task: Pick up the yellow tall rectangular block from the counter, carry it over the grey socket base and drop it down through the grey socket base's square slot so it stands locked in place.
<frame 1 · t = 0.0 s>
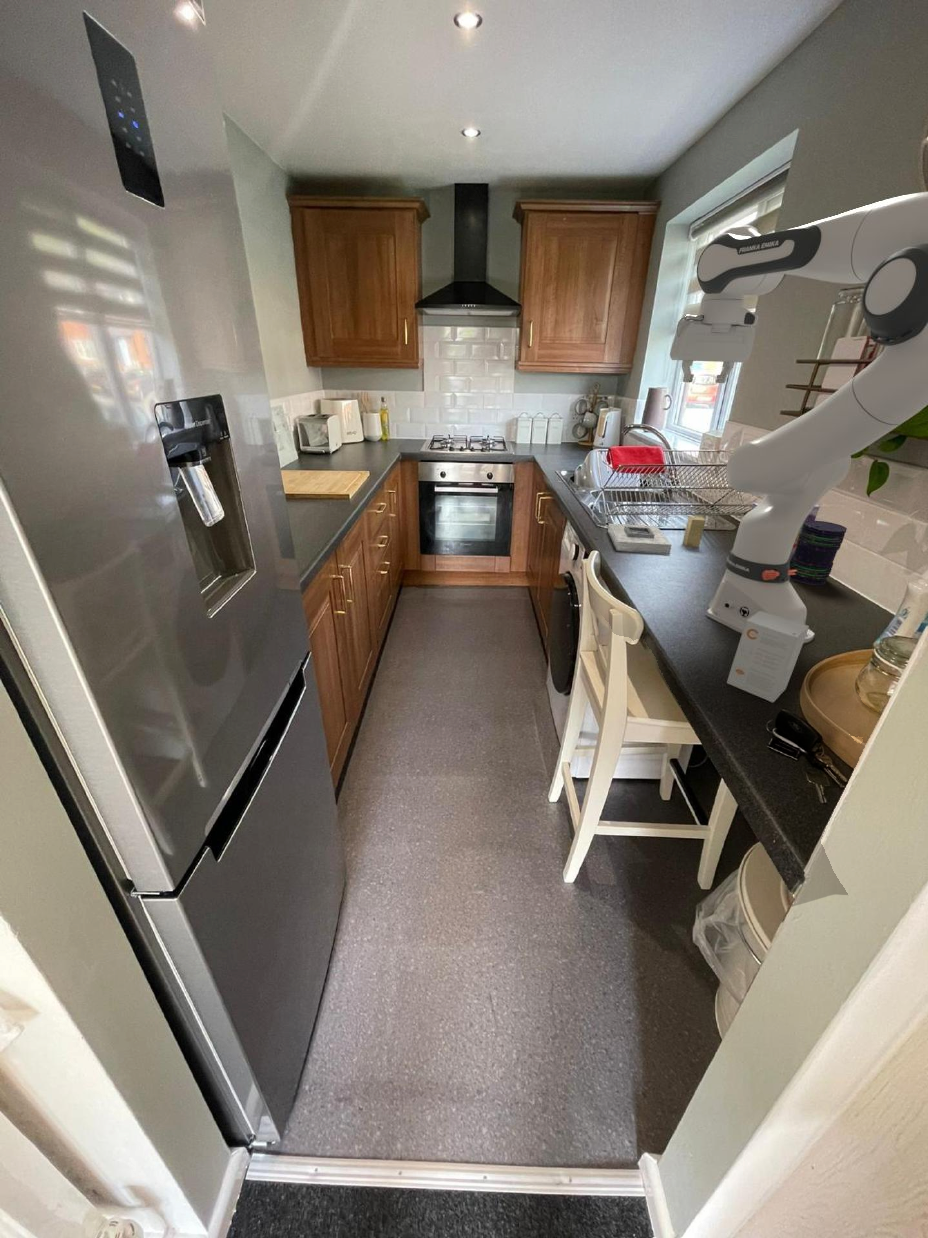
hand: (703, 382, 120), 48 cm above the countertop, fingers open, 8 cm apart
yellow tall rectangular block: (690, 545, 160), on the countertop
small box: (755, 687, 89), on the countertop
grey socket base: (636, 542, 162), on the countertop
cake pan box: (766, 562, 148), on the countertop
storage jar: (805, 578, 137), on the countertop
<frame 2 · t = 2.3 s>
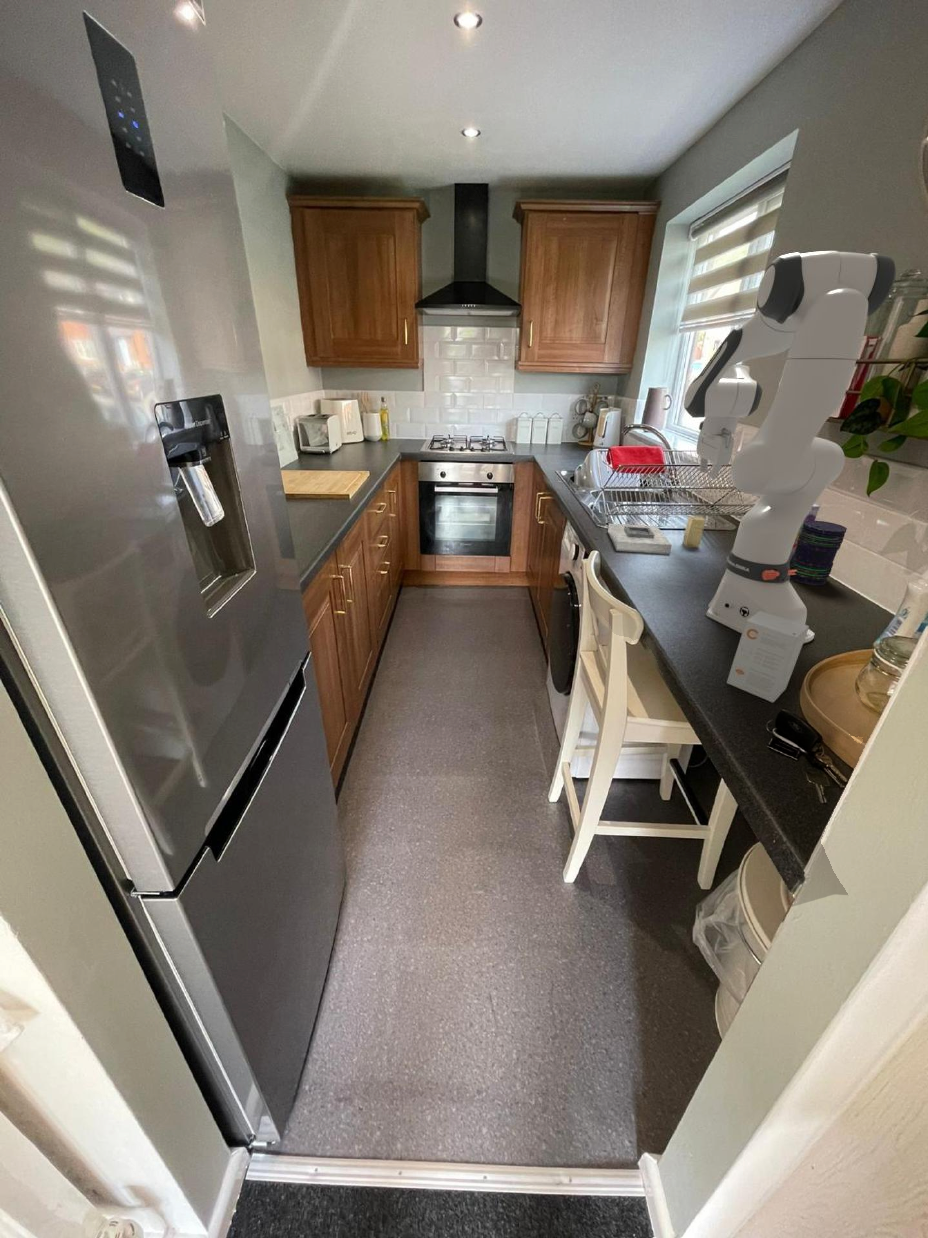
hand: (707, 475, 150), 22 cm above the countertop, fingers open, 8 cm apart
nothing on the countertop moved.
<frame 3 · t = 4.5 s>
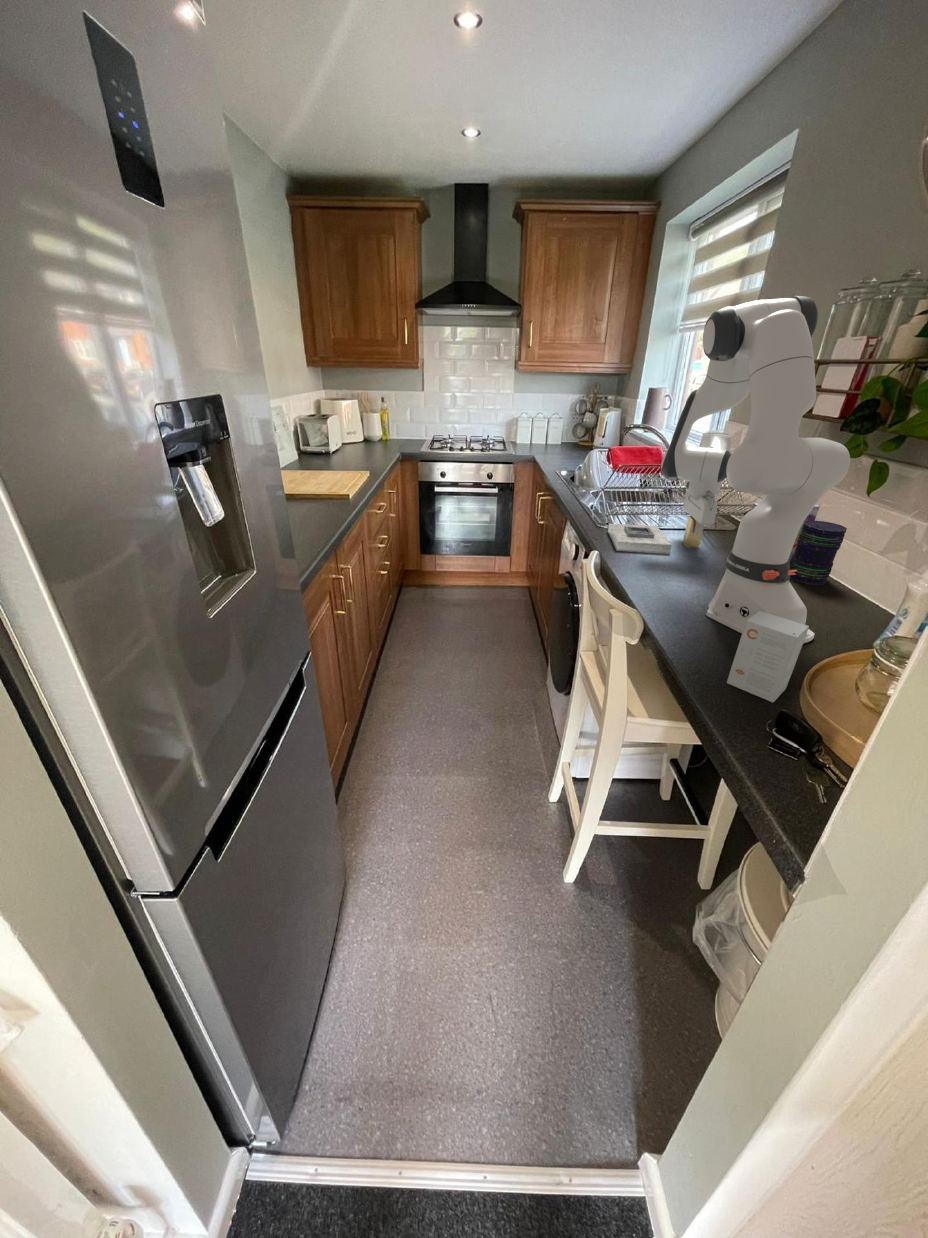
hand: (693, 531, 158), 5 cm above the countertop, fingers closed on yellow tall rectangular block, 4 cm apart
yellow tall rectangular block: (690, 545, 160), on the countertop, touching gripper
everything else where it was.
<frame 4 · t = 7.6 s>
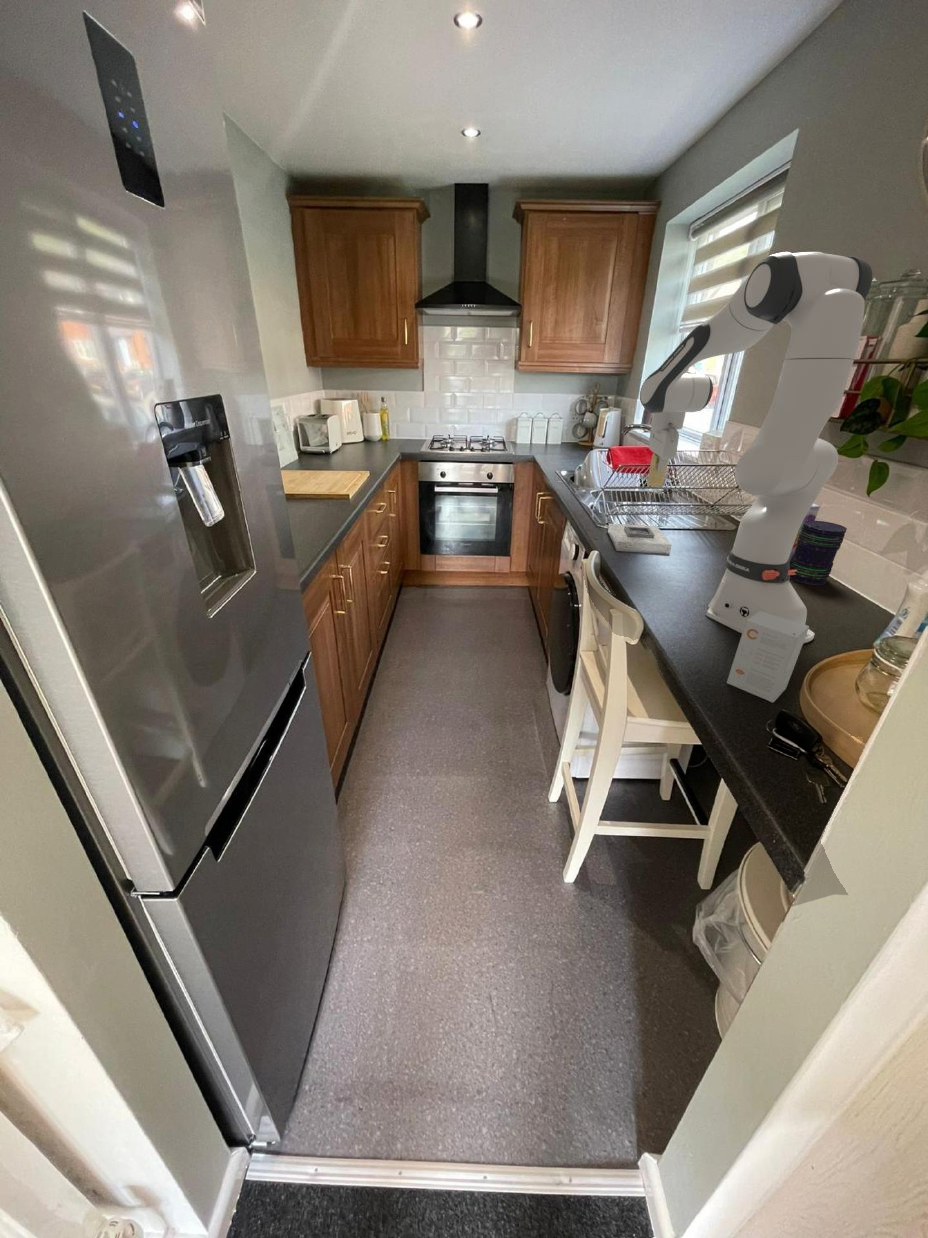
hand: (657, 469, 151), 23 cm above the countertop, fingers closed on yellow tall rectangular block, 4 cm apart
yellow tall rectangular block: (654, 485, 153), point 19 cm above the countertop, touching gripper
everything else where it was.
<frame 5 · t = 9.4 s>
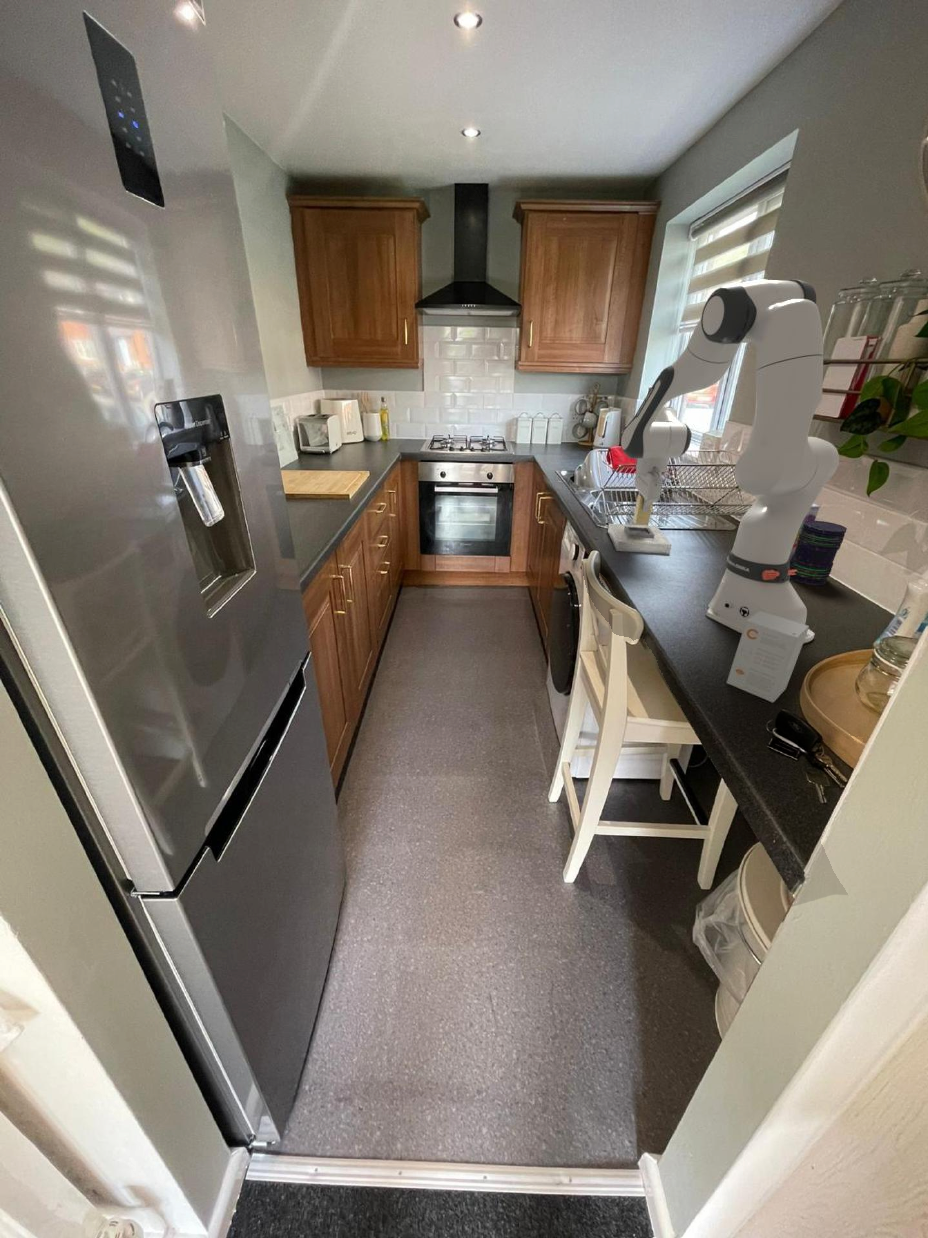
hand: (643, 509, 157), 11 cm above the countertop, fingers closed on yellow tall rectangular block, 4 cm apart
yellow tall rectangular block: (640, 523, 159), point 6 cm above the countertop, touching gripper
everything else where it was.
when the fingers open (6 cm above the countertop, at t = 10.8 s): yellow tall rectangular block drops 1 cm, resting in grey socket base.
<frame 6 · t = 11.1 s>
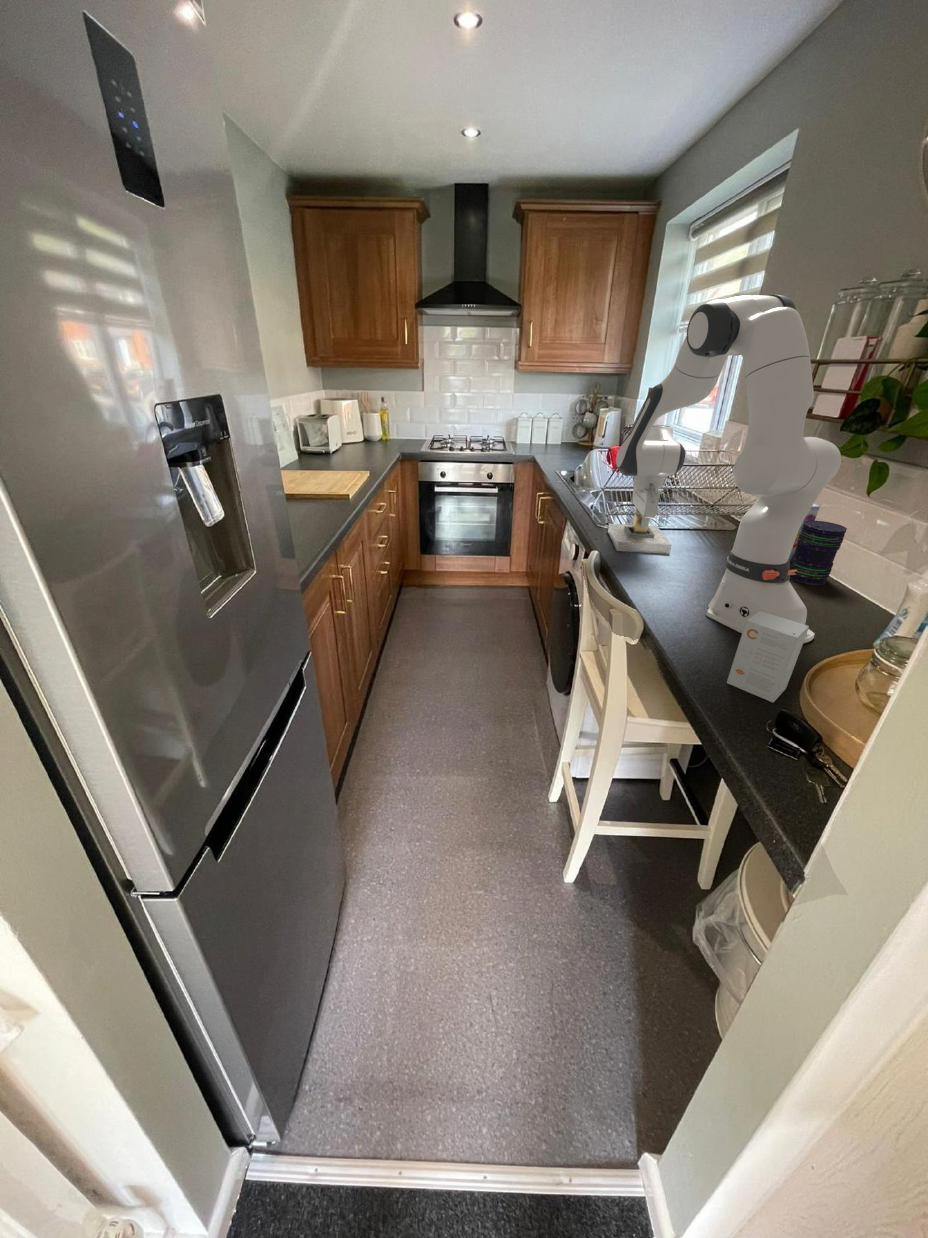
hand: (640, 524, 159), 6 cm above the countertop, fingers open, 7 cm apart
yellow tall rectangular block: (637, 542, 162), resting in grey socket base
everything else where it was.
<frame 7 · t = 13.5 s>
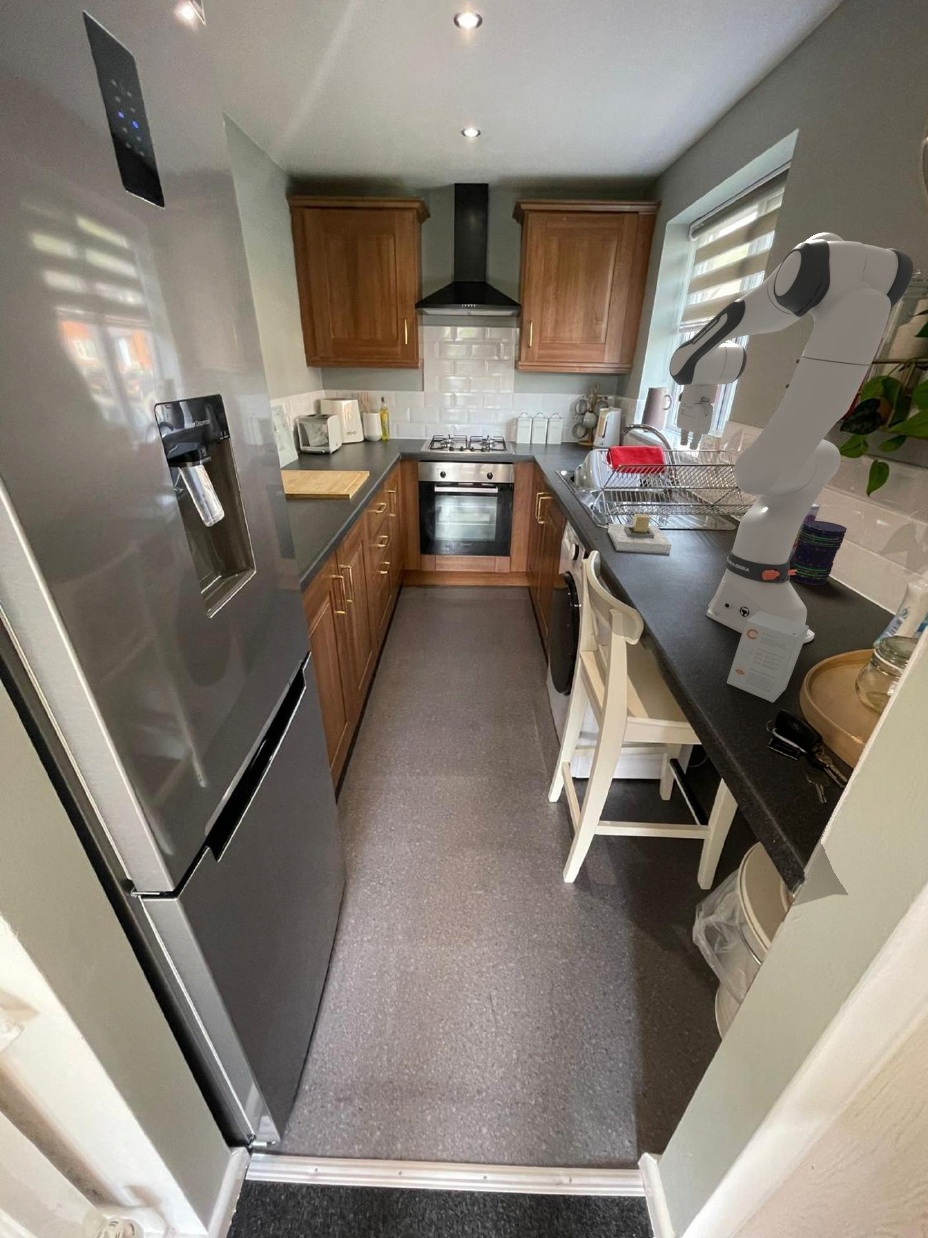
hand: (688, 447, 147), 30 cm above the countertop, fingers open, 8 cm apart
nothing on the countertop moved.
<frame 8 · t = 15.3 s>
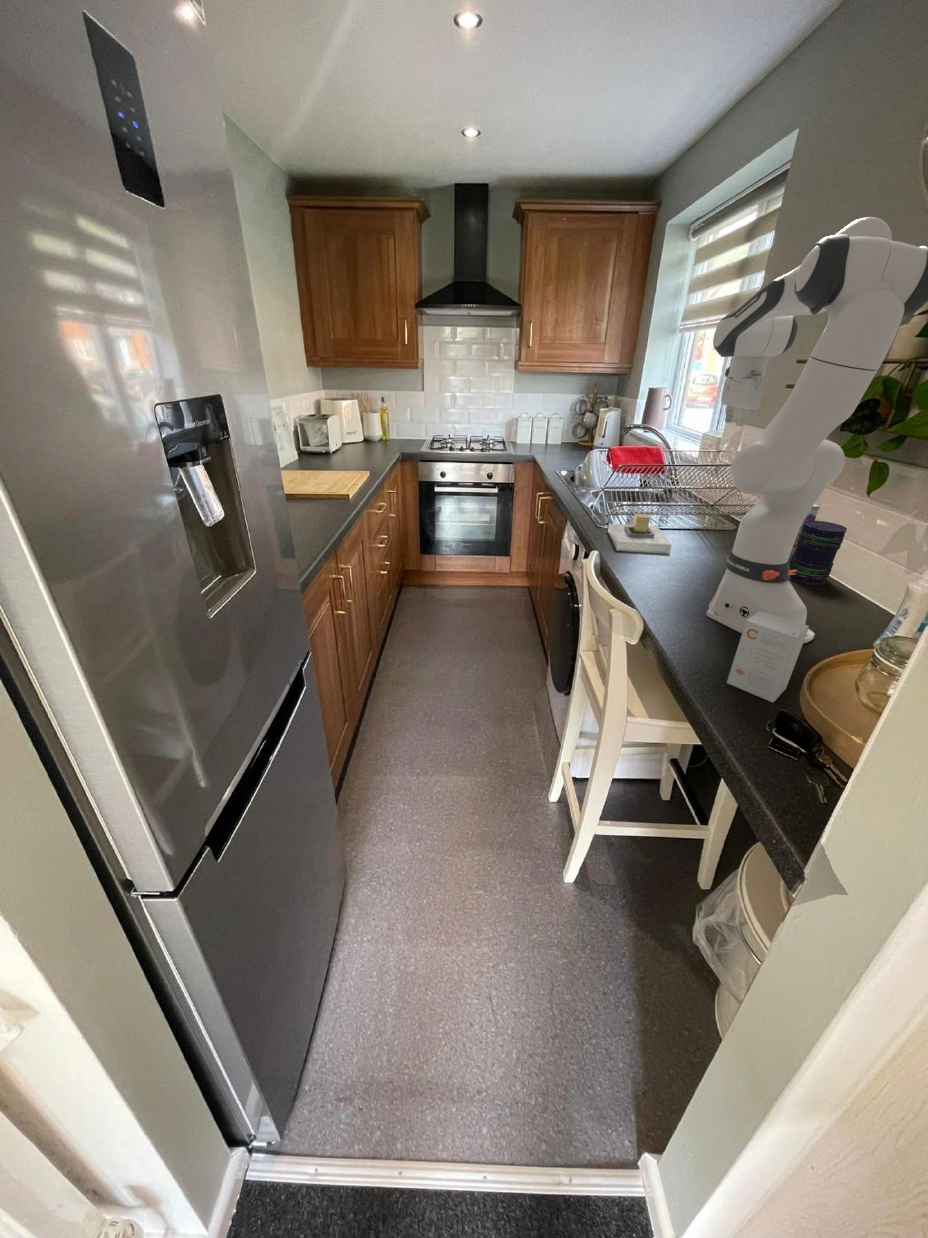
hand: (733, 424, 142), 37 cm above the countertop, fingers open, 8 cm apart
nothing on the countertop moved.
at the end: yellow tall rectangular block 0.1 cm off-centre on the grey socket base, point 0.0 cm above the grey socket base's base; yellow tall rectangular block tilted 0°; the gripper is holding nothing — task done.
